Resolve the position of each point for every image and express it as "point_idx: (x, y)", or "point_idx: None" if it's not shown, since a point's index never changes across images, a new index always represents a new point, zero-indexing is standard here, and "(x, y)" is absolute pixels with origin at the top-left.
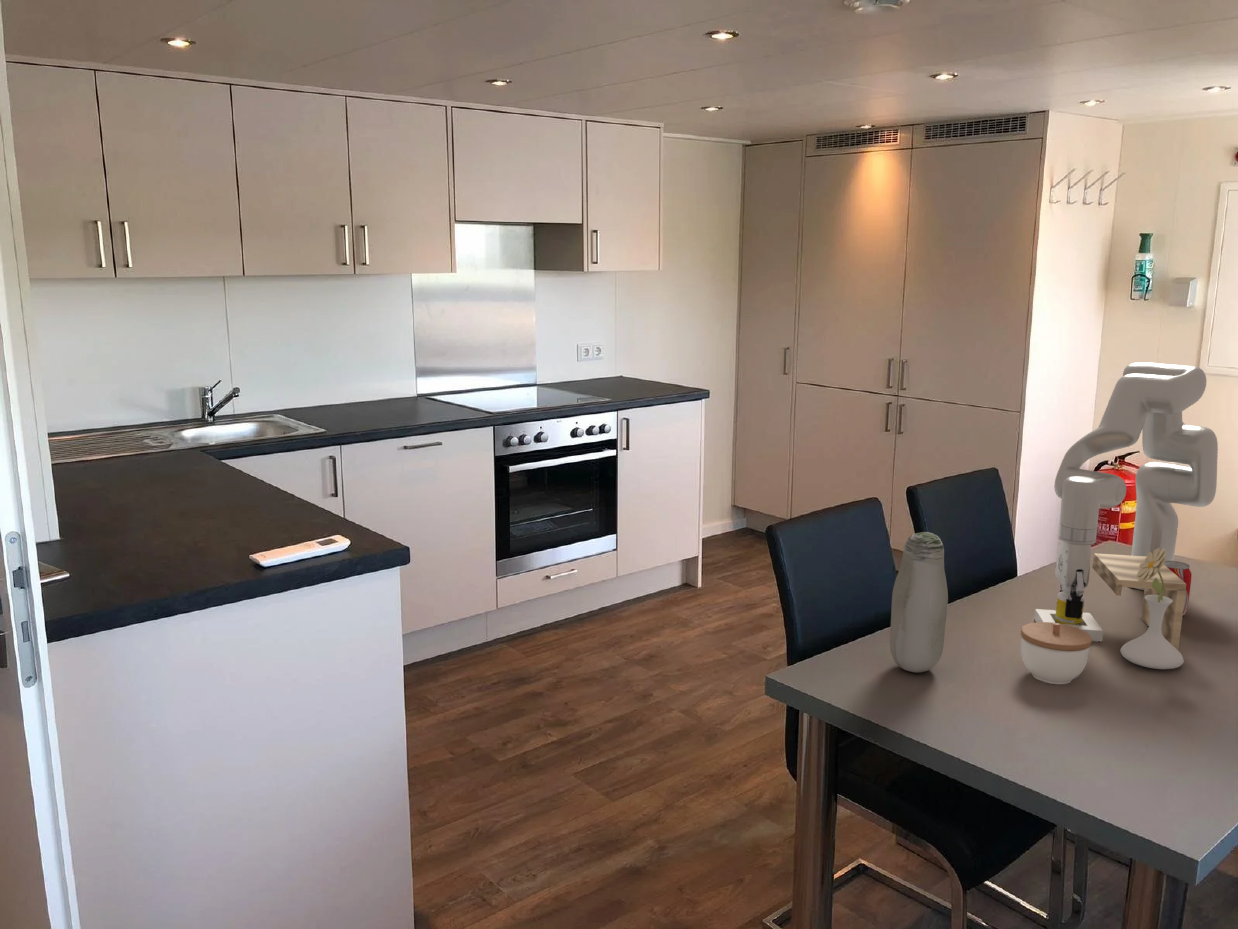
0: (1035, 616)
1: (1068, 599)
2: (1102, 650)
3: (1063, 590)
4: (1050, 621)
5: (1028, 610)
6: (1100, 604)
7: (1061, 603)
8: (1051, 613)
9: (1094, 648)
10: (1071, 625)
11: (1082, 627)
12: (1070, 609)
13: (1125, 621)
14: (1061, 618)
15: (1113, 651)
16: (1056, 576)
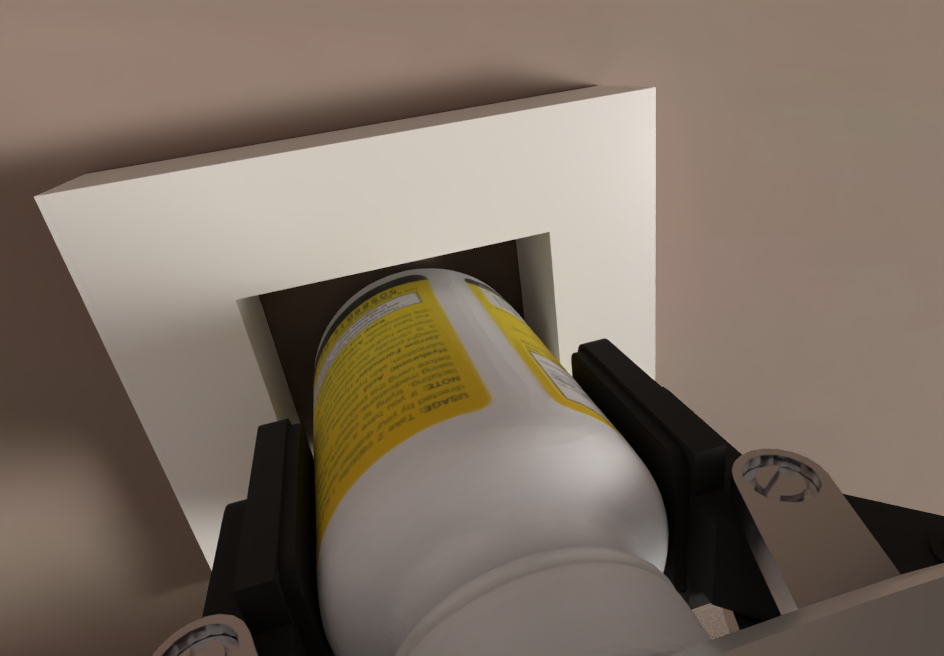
0: (586, 91)
1: (224, 623)
2: (48, 594)
3: (467, 593)
4: (275, 244)
5: (820, 42)
6: (936, 482)
7: (361, 442)
8: (556, 250)
9: (59, 548)
10: (253, 436)
11: None
12: (231, 536)
13: (696, 608)
14: (334, 360)
15: (79, 646)
16: (916, 602)
